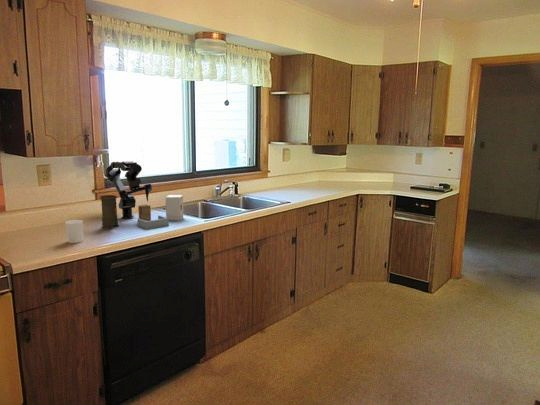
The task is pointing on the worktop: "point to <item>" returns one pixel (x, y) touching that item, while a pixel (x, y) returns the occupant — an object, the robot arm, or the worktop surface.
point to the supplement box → (174, 207)
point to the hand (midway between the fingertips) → (139, 203)
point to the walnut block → (144, 212)
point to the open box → (153, 223)
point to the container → (109, 212)
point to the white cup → (74, 231)
